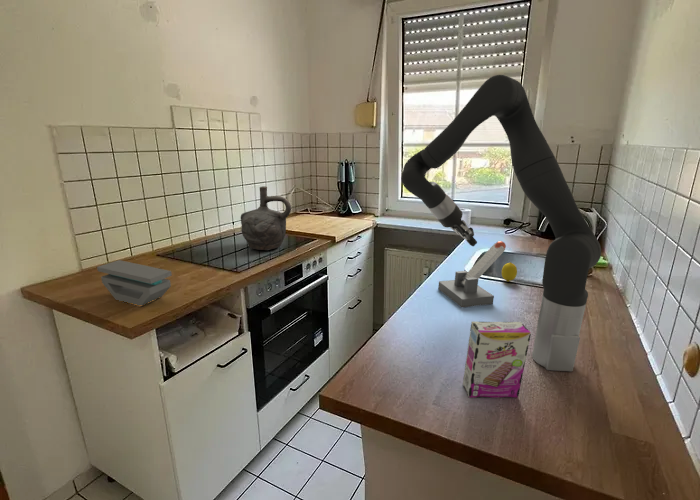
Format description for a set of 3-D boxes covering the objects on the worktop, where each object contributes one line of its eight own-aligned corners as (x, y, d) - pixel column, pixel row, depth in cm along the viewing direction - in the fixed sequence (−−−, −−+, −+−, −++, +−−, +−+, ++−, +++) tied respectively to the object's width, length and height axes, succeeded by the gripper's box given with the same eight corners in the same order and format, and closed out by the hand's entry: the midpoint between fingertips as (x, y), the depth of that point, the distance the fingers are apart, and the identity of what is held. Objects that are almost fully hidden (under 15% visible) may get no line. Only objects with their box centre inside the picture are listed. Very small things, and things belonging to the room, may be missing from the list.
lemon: (516, 285, 143) (519, 265, 141) (501, 283, 144) (504, 264, 142) (513, 279, 148) (516, 260, 146) (499, 278, 149) (501, 259, 147)
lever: (469, 290, 130) (510, 247, 129) (463, 284, 128) (504, 240, 127) (463, 286, 133) (502, 244, 133) (457, 280, 132) (497, 237, 131)
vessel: (292, 241, 196) (290, 183, 187) (292, 253, 176) (290, 190, 167) (245, 242, 193) (241, 183, 184) (239, 255, 172) (234, 190, 163)
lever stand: (492, 304, 126) (495, 282, 124) (461, 307, 123) (464, 285, 121) (466, 286, 141) (469, 266, 139) (438, 288, 138) (440, 268, 136)
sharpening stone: (103, 296, 128) (97, 266, 124) (124, 288, 134) (119, 260, 131) (155, 311, 118) (150, 279, 115) (175, 301, 125) (171, 271, 122)
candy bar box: (469, 399, 81) (478, 332, 76) (462, 384, 85) (469, 320, 80) (520, 399, 81) (532, 332, 76) (510, 384, 86) (520, 320, 81)
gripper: (464, 205, 114) (493, 241, 121) (443, 198, 126) (471, 231, 133) (447, 222, 114) (477, 258, 121) (427, 214, 126) (456, 246, 133)
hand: (474, 244), depth 127 cm, fingers closed
